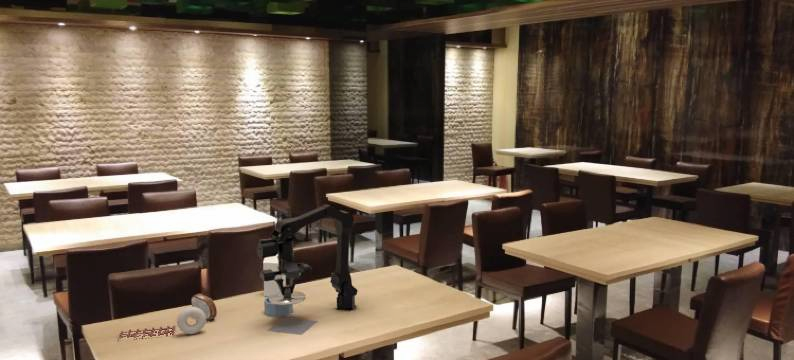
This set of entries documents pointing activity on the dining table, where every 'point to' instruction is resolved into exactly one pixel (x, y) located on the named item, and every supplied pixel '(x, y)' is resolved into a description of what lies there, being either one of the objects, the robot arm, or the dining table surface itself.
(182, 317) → the donut
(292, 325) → the mat
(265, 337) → the dining table surface
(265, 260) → the milk carton
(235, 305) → the dining table surface
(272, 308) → the blue bowl
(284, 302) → the lid
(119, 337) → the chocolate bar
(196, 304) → the tin
